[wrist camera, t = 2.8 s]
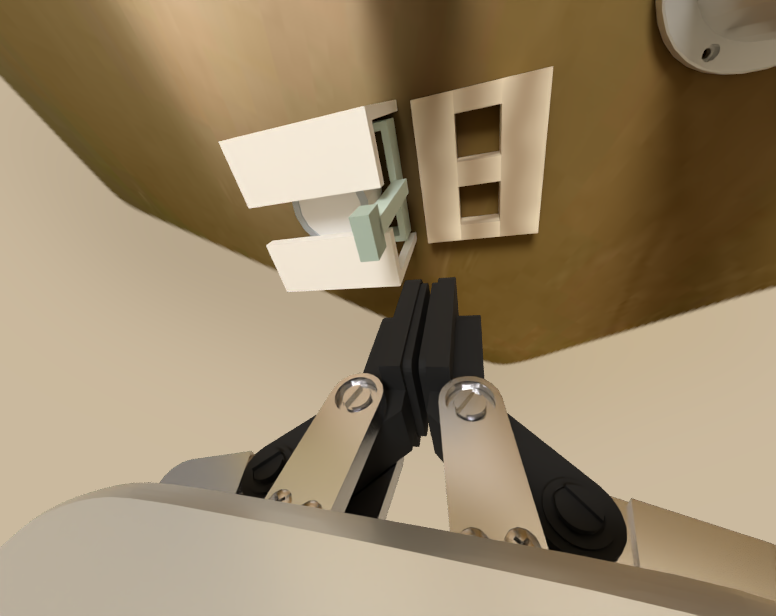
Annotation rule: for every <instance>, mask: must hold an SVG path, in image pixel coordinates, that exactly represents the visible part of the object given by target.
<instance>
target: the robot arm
mask: <svg viewBox="0 0 776 616" xmlns="http://www.w3.org/2000/svg"><path fill="white" fill-rule="evenodd" d="M655 4H656V15H657V25H658V28H659V31H660V34H661V37H662V40H663V43H664V44H665V46H666V47H667V48H668V50H669V51H670V53H671V54H672V56H673V57H674V58H676V59H677V60H678V61H680V62H681V63H682V64H684V65H685V66H686V67H688V68H691V69H694V70H697V71H699V72H702V73H709V74H719V75H729V74H744V73H749V72H754V71H759V70H764V69H769V68H771V67H774V66H776V0H656V1H655ZM705 49H706V50H707V53H706V55H705V57H703V58H702V54H703V52H704V50H705ZM428 423H429V427H430V432H431V436H432V440H433V445H434V450H435V453H436V454H437V456H438V457H439V458H440V459H441V460H442V461H443V463H444V470H445V482H446V494H447V505H448V516H449V527H450V532H449V531H443V530H438V529H432V528H427V527H421V526H415V525H409V524H404V523H399V522H393V521H387V520H385V519H386V516H387V513H388V510H389V507H390V504H391V501H392V498H393V495H394V492H395V488H396V485H397V482H398V479H399V476H400V473H401V470H402V467H403V461H404V456H405V455H407V454H408V453H409V452H410V451H412V448H413V446H416V447H419V445H420V438H421V436H427V431H428ZM0 616H776V545H774V544H772V543H769V542H766V541H763V540H760V539H756V538H753V537H750V536H747V535H744V534H741V533H737V532H734V531H731V530H728V529H725V528H722V527H719V526H716V525H713V524H710V523H707V522H704V521H700V520H697V519H694V518H691V517H688V516H685V515H682V514H679V513H676V512H673V511H670V510H666V509H663V508H660V507H657V506H654V505H651V504H648V503H645V502H642V501H638V500H635V499H632V498H631V499H630V501H629V502H627V501H624V500H621V499H617V498H614V497H612V496H609V495H608V494H607V493H606V492H605V491H604V490H603V489H602V488H601V487H600V486H599V485H598V484H596V483H595V482H594V481H592V480H591V479H590V478H589V477H587V476H586V475H585V474H583V473H582V472H581V471H580V470H579V469H577V468H576V467H575V466H574V465H572V464H571V463H570V462H569V461H567V460H566V459H565V458H563V457H562V456H561V455H559V454H558V453H557V452H556V451H555V450H553V449H552V448H551V447H549V446H548V445H547V444H546V443H544V442H543V441H542V440H541V439H539V438H538V437H537V436H536V435H534V434H533V433H532V432H531V431H529V430H528V429H527V428H525V427H524V426H523V425H522V424H520V423H519V422H518V421H517V420H515V419H514V418H513V417H512V416H510V415H509V414H508V413H507V412H506V408H505V405H504V402H503V398H502V396H501V394H500V392H499V390H498V389H497V388H496V387H495V386H494V385H493V384H492V383H490V382H488V381H487V380H485V379H484V368H483V349H482V332H481V316H480V315H473V316H459V313H458V300H457V287H456V278H455V277H452V278H439V279H438V283H432V288H431V294H430V291H429V285H428V283H423V282H422V280H421V279H420V280H406V281H405V283H404V286H403V289H402V292H401V295H400V298H399V301H398V304H397V307H396V310H395V314H394V317H393V318H384V319H383V320H382V322H381V325H380V328H379V331H378V333H377V336H376V339H375V342H374V345H373V347H372V350H371V352H370V355H369V358H368V361H367V364H366V366H365V369H364V372H363V373H357V374H353V375H350V376H348V377H346V378H344V379H342V380H341V381H340V382H338V383H337V385H336V386H335V387H334V388H333V390H332V391H331V393H330V394H329V396H328V397H327V399H326V401H325V402H324V404H323V406H322V407H321V409H320V410H319V412H318V413H317V415H315V416H314V417H312V418H310V419H309V420H307V421H306V422H304V423H302V424H301V425H299V426H298V427H296V428H294V429H293V430H291V431H290V432H288V433H286V434H285V435H283V436H281V437H280V438H278V439H277V440H275V441H274V442H272V443H270V444H269V445H267V446H265V447H264V448H263V449H261V450H260V451H259V452H258V453H256V454H253V452H252V451H248V452H241V453H235V454H227V455H220V456H212V457H205V458H198V459H192V460H188V461H185V462H182V463H181V464H179V465H177V466H176V467H174V468H173V469H172V470H171V471H169V472H168V473H167V474H166V475H165V476H164V477H163V479H162V480H161V481H160V483H149V482H148V483H130V484H122V485H117V486H112V487H108V488H104V489H100V490H97V491H94V492H90V493H87V494H84V495H81V496H78V497H75V498H73V499H70V500H68V501H66V502H63V503H61V504H59V505H57V506H55V507H53V508H51V509H49V510H47V511H46V512H44V513H42V514H41V515H39V516H38V517H36V518H35V519H33V520H32V521H30V522H29V523H28V524H27V525H25V526H24V527H23V528H22V529H20V530H19V531H18V532H17V533H16V534H15V535H13V536H12V537H11V538H10V539H9V540H8V541H7V542H6V543H5V544H3V545H2V546H1V547H0Z"/></svg>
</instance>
